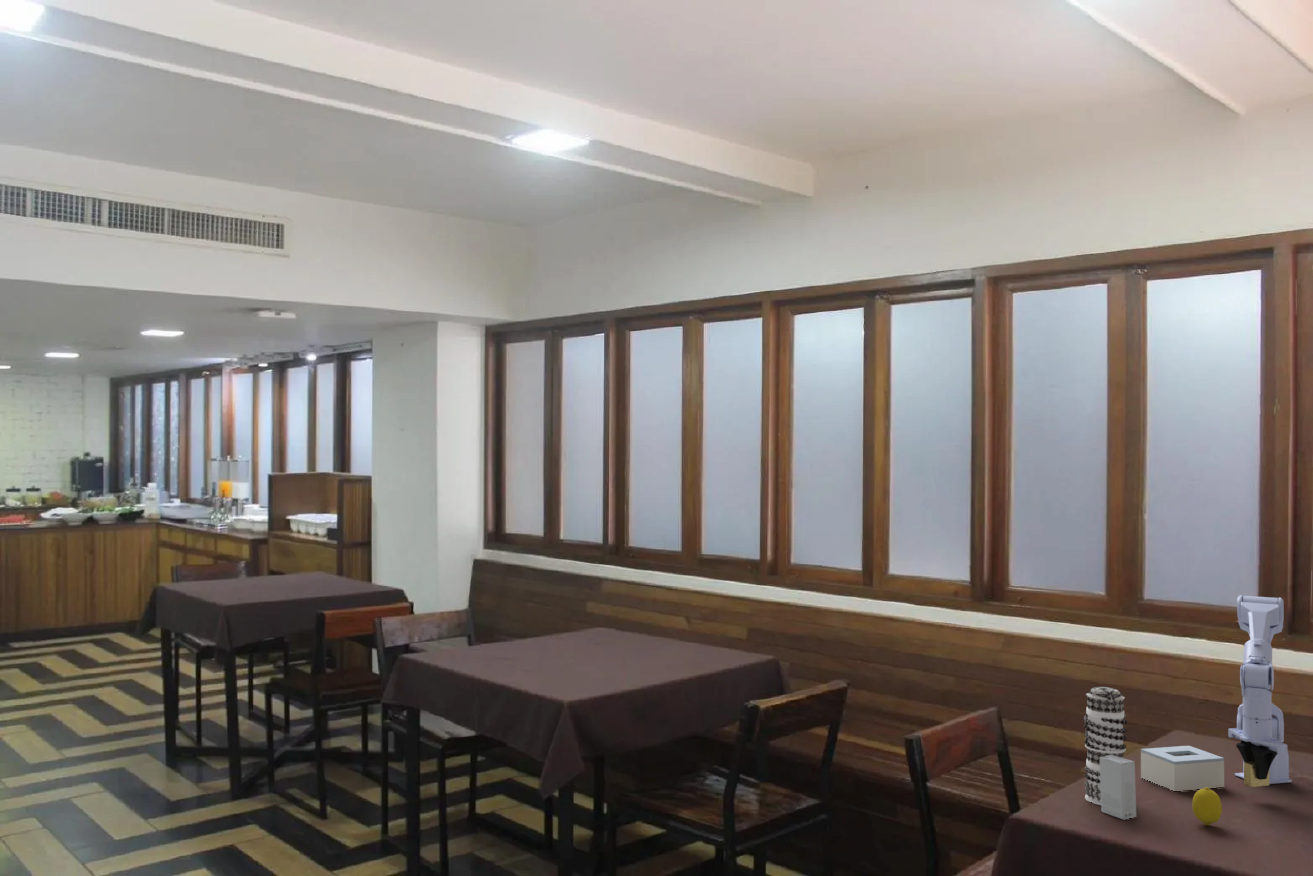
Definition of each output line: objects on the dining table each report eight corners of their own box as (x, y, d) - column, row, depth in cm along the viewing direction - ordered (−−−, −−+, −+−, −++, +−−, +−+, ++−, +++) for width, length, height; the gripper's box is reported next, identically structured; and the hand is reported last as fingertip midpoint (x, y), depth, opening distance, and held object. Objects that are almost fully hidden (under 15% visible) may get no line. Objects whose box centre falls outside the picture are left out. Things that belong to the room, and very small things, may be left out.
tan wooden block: (1262, 782, 237) (1262, 760, 237) (1269, 785, 235) (1269, 763, 235) (1244, 784, 235) (1243, 762, 236) (1251, 787, 234) (1251, 764, 234)
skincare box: (1137, 818, 222) (1137, 761, 223) (1122, 821, 220) (1122, 763, 221) (1113, 809, 228) (1113, 753, 228) (1098, 812, 226) (1098, 756, 226)
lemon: (1225, 831, 215) (1225, 792, 215) (1196, 829, 216) (1196, 790, 216) (1216, 822, 220) (1216, 784, 220) (1188, 820, 221) (1188, 782, 222)
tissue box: (1188, 774, 255) (1188, 745, 255) (1224, 788, 244) (1224, 758, 244) (1140, 778, 251) (1140, 749, 251) (1174, 792, 241) (1174, 761, 241)
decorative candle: (1133, 800, 234) (1133, 689, 235) (1119, 810, 227) (1119, 695, 228) (1092, 791, 240) (1092, 683, 241) (1077, 800, 234) (1077, 689, 234)
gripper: (1217, 710, 241) (1217, 769, 241) (1269, 726, 227) (1269, 788, 227) (1242, 708, 243) (1242, 766, 243) (1295, 724, 229) (1295, 786, 229)
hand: (1257, 777), depth 235 cm, fingers closed on tan wooden block, 2 cm apart
